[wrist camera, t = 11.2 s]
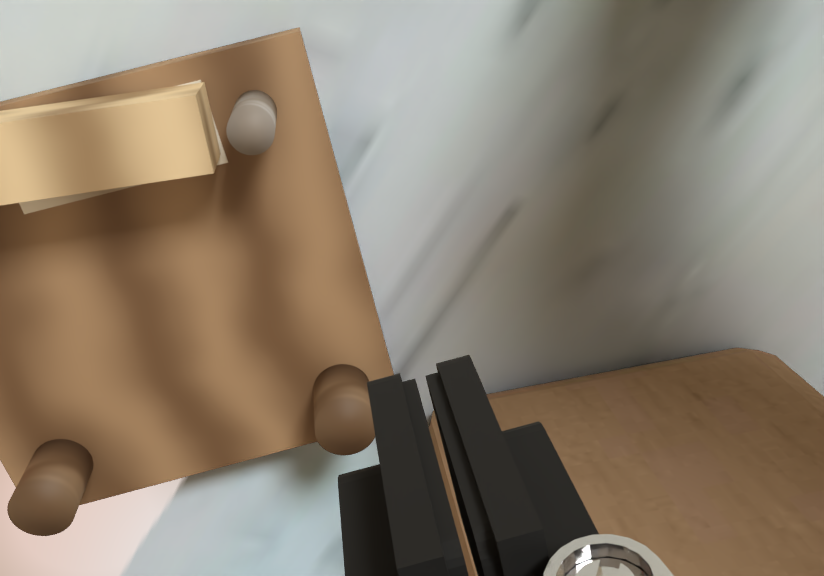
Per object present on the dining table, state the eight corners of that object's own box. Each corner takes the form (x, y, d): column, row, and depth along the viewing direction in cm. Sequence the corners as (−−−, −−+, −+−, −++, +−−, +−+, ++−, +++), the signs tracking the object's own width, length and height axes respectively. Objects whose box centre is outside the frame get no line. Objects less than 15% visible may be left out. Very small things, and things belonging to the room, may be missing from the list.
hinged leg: (204, 82, 35) (195, 95, 32) (220, 154, 36) (213, 173, 33) (-20, 113, 34) (-51, 130, 31) (6, 186, 36) (-22, 208, 32)
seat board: (299, 27, 37) (299, 42, 31) (400, 399, 46) (415, 464, 40) (-154, 140, 36) (-240, 177, 30) (43, 494, 45) (6, 575, 40)
